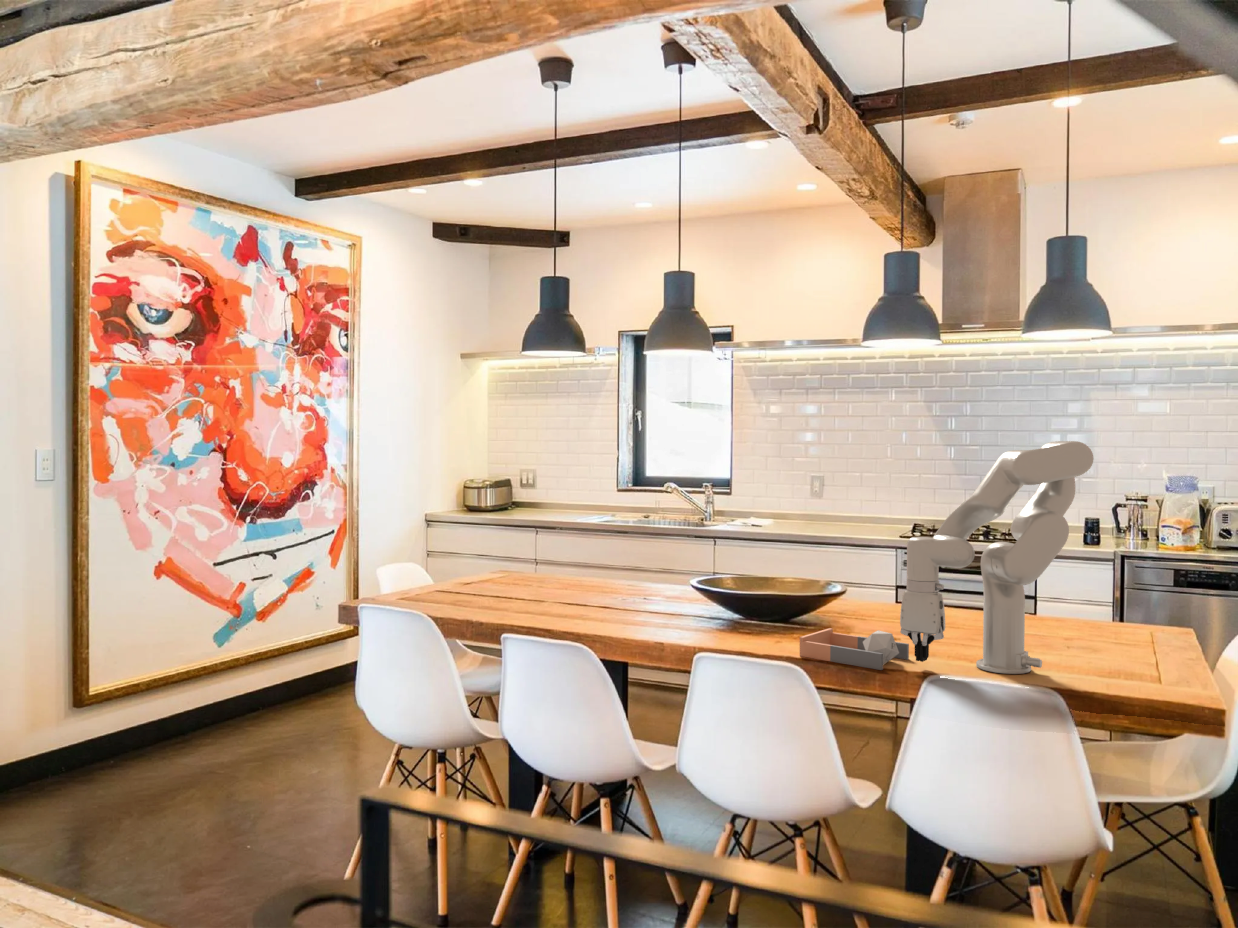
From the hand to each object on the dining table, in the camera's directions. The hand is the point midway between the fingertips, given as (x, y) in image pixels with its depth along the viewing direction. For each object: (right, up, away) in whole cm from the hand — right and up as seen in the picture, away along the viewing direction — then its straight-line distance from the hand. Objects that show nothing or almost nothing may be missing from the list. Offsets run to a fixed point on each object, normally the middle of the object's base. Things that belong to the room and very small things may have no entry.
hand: (921, 660), depth 226 cm
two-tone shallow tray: (-13, -2, +12) cm, 18 cm away
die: (-8, -2, +7) cm, 11 cm away
